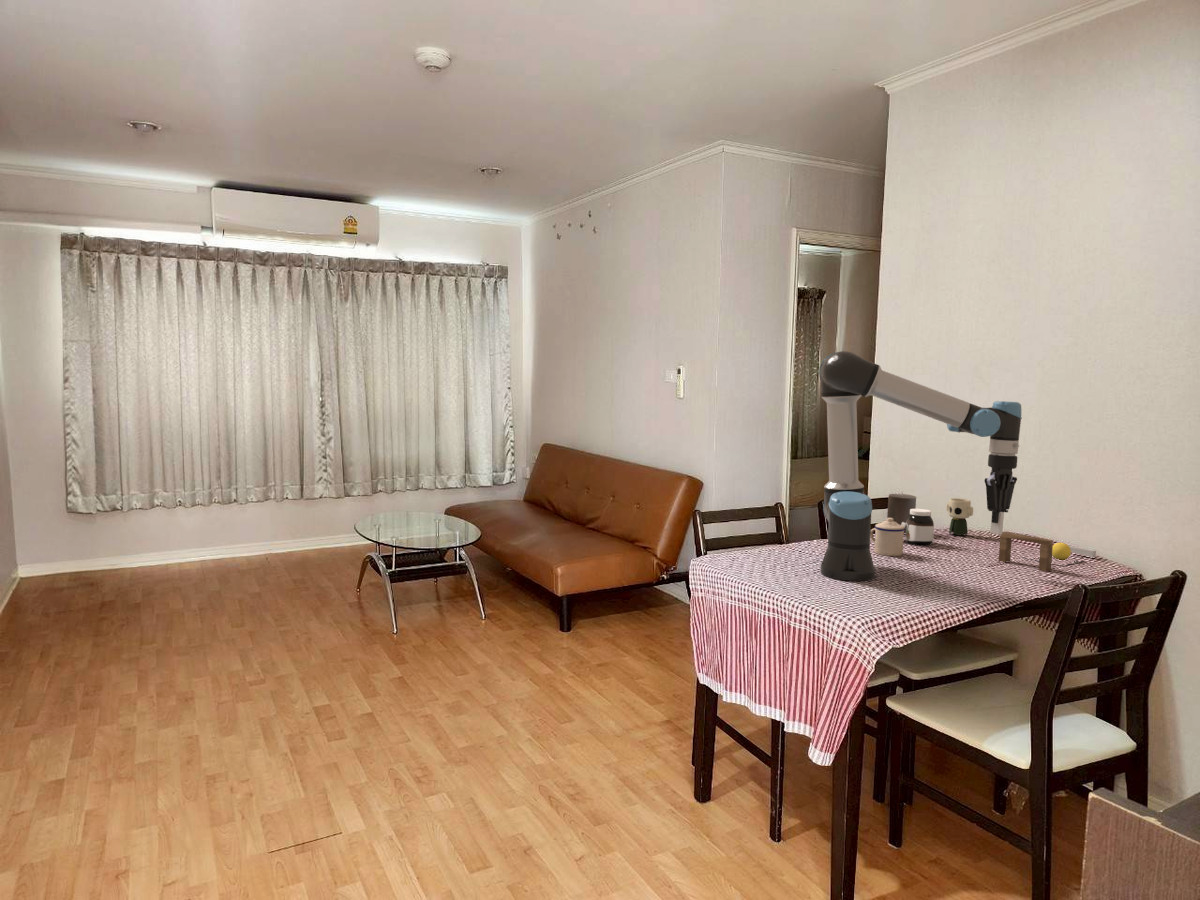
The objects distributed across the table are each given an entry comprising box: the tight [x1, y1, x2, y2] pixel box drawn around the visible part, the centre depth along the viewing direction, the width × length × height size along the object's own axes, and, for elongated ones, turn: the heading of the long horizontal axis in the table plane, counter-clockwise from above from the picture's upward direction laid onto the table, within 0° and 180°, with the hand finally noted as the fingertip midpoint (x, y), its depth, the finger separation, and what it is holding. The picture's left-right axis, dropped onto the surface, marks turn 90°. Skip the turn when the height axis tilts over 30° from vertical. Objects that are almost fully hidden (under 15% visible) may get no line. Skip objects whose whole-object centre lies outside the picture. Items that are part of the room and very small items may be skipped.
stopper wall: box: [1067, 544, 1097, 558], centre depth 250 cm, size 2×12×2 cm, turn 31°
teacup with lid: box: [870, 518, 905, 557], centre depth 250 cm, size 12×9×12 cm
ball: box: [1052, 542, 1072, 560], centre depth 243 cm, size 6×6×6 cm
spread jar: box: [901, 508, 935, 546], centre depth 266 cm, size 12×11×12 cm
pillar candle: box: [886, 492, 917, 533], centre depth 283 cm, size 10×10×15 cm
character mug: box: [946, 498, 974, 536], centre depth 279 cm, size 11×7×13 cm, turn 27°
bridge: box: [998, 531, 1054, 572], centre depth 234 cm, size 3×14×9 cm, turn 31°
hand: (996, 533), depth 226 cm, fingers closed
